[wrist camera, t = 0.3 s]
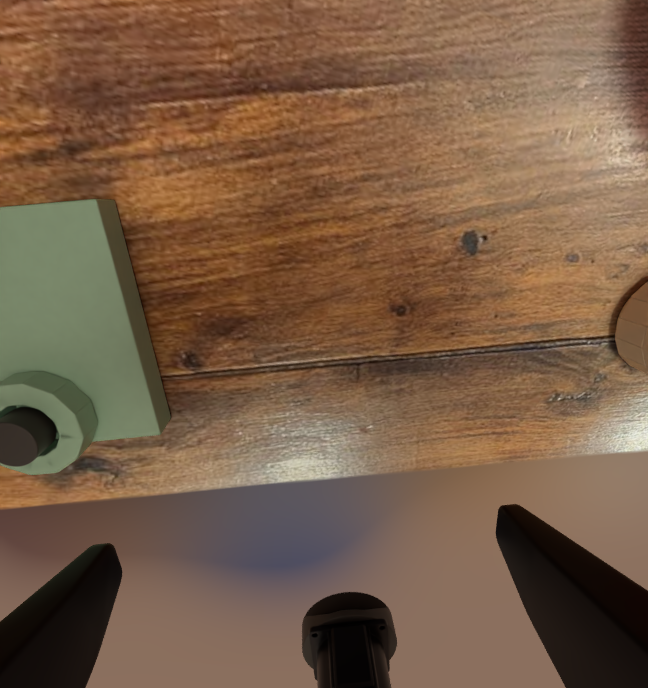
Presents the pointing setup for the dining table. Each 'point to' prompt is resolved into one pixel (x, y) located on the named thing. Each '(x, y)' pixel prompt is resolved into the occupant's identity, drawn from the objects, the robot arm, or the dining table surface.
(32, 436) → the button
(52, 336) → the scale
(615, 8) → the dining table surface
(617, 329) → the bowl
